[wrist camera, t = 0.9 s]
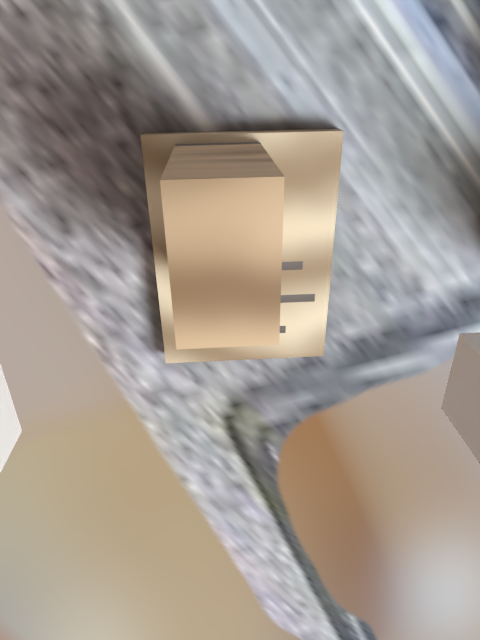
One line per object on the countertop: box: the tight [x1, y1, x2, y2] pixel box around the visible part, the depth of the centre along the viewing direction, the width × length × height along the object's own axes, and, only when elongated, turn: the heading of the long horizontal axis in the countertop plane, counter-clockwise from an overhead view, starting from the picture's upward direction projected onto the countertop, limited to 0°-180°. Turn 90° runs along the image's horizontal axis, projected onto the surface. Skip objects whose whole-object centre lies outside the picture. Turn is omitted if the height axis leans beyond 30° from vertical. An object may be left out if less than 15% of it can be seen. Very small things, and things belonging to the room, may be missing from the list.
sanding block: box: [160, 142, 284, 350], centre depth 25 cm, size 8×5×10 cm, turn 1°
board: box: [140, 129, 343, 363], centre depth 31 cm, size 16×12×1 cm
